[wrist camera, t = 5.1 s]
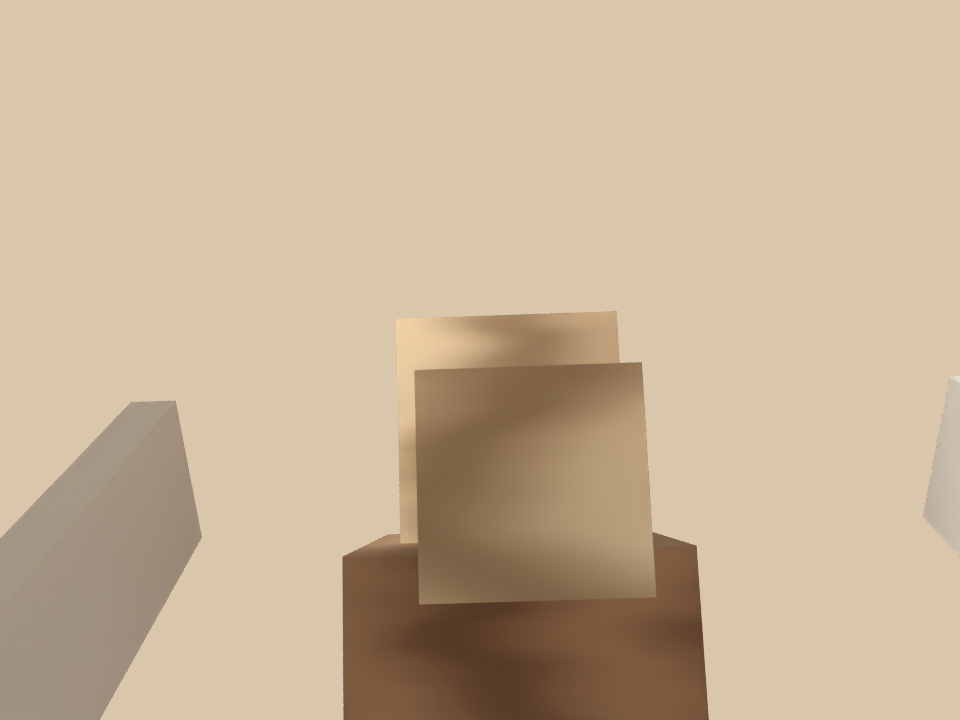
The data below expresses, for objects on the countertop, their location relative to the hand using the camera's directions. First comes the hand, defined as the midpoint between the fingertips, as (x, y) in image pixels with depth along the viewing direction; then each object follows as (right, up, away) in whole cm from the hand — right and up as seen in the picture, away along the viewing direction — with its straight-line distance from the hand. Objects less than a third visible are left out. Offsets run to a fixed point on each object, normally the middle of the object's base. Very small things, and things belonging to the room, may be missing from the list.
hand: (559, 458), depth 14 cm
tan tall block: (0, -3, +7) cm, 7 cm away
